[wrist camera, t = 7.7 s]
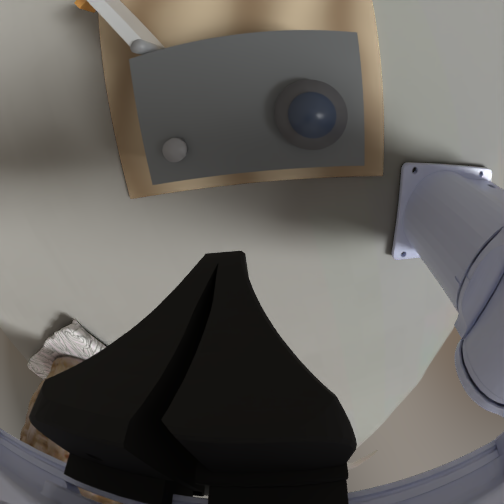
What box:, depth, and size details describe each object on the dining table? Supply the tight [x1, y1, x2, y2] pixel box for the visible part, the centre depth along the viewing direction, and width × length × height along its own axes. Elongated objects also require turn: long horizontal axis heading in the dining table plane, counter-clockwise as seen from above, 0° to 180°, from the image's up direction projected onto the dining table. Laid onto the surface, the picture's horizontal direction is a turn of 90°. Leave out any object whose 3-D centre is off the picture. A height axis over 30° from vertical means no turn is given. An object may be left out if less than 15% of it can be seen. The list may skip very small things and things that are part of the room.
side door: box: [75, 0, 165, 55], centre depth 11 cm, size 7×2×4 cm, turn 36°
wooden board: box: [98, 0, 384, 199], centre depth 14 cm, size 18×16×1 cm
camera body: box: [129, 30, 365, 185], centre depth 13 cm, size 11×7×5 cm, turn 96°
